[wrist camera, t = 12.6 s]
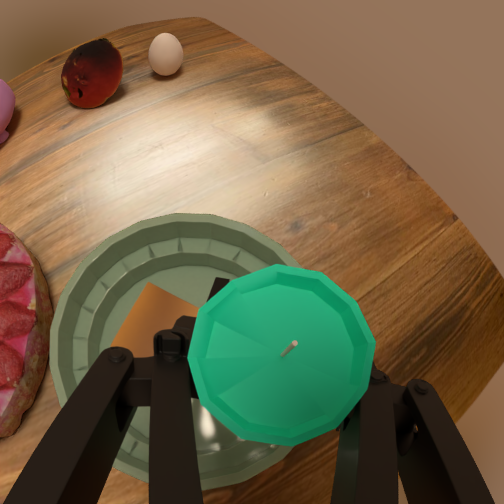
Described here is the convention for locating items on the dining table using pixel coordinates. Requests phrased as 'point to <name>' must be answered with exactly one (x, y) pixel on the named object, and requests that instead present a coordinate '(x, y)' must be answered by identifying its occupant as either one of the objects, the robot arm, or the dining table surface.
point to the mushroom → (92, 73)
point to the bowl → (181, 285)
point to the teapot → (5, 109)
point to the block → (151, 319)
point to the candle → (281, 355)
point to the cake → (21, 329)
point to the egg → (165, 54)
